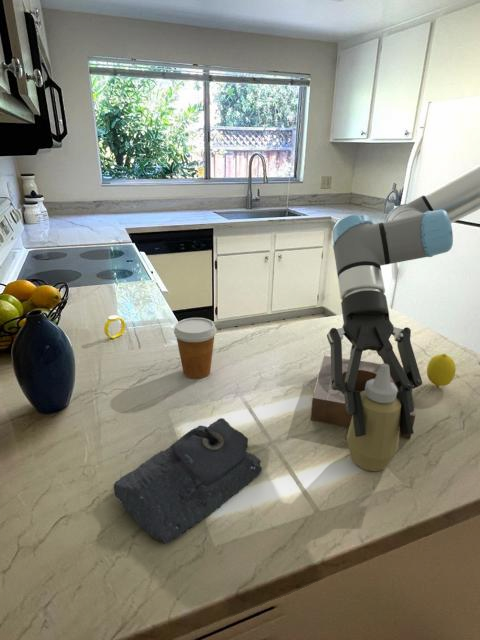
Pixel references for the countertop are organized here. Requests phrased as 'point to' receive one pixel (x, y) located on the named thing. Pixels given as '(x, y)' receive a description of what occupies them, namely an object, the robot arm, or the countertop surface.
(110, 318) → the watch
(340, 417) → the holder
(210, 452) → the iron doorstop weight
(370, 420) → the squeeze bottle
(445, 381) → the lemon
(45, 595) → the countertop surface
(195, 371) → the disposable coffee cup
